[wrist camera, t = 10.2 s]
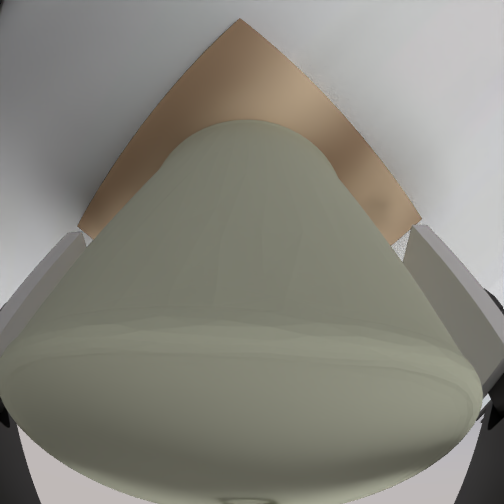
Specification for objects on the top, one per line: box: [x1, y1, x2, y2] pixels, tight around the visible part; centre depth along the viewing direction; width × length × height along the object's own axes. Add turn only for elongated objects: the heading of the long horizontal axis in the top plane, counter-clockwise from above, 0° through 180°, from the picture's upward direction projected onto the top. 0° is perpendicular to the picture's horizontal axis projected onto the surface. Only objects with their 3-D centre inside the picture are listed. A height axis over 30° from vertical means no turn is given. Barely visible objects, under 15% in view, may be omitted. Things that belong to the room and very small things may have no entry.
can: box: [0, 120, 483, 504], centre depth 9 cm, size 9×9×12 cm
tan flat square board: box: [77, 18, 422, 246], centre depth 14 cm, size 13×13×1 cm
